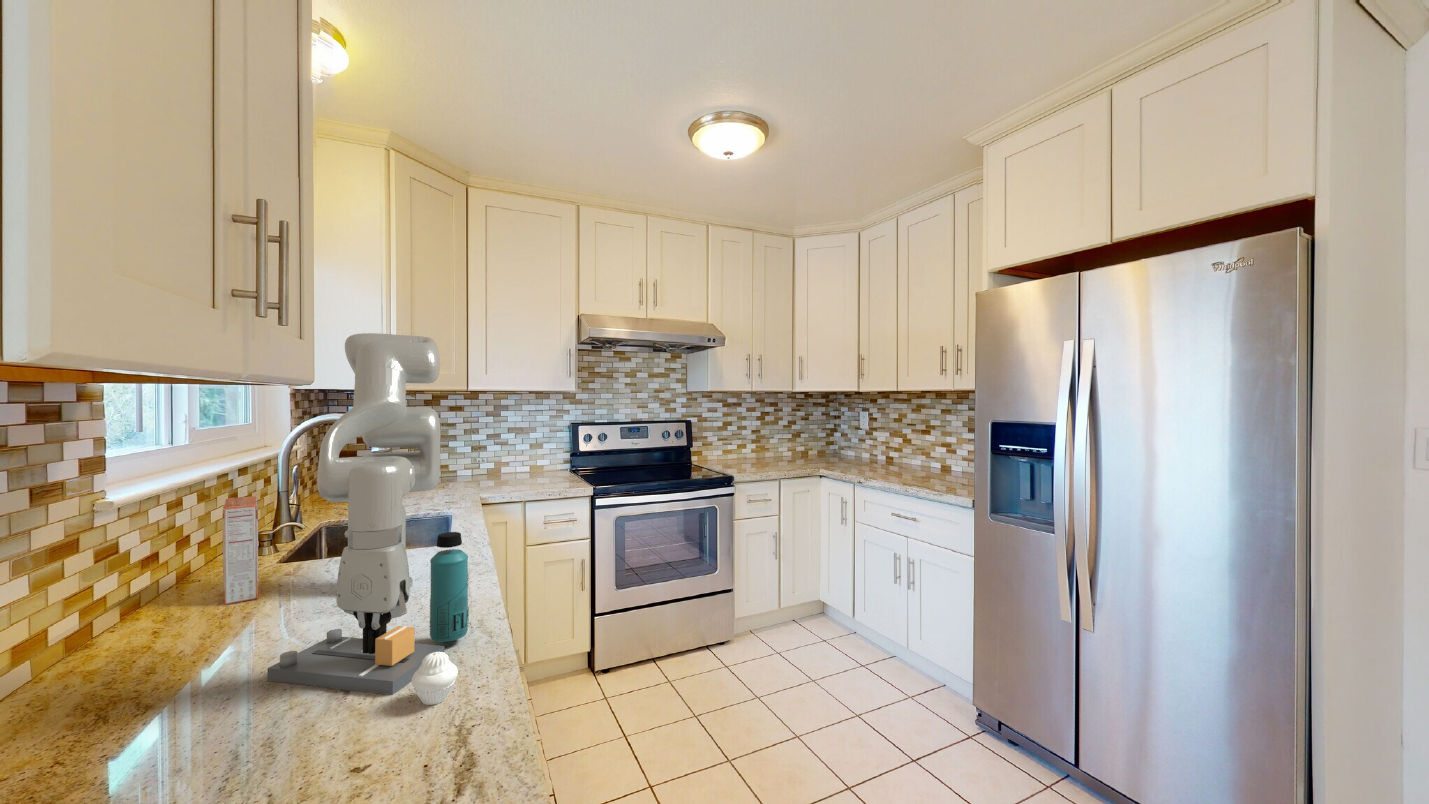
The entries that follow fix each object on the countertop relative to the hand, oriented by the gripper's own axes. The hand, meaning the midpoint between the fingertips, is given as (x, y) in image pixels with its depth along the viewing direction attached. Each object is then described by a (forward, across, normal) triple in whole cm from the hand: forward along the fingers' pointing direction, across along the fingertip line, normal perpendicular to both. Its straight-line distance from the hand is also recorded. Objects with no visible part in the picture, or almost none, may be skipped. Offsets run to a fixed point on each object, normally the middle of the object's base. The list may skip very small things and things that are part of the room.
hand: (374, 649), depth 90 cm
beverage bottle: (+4, +5, +11) cm, 13 cm away
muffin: (+4, +15, -6) cm, 17 cm away
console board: (+3, -3, 0) cm, 4 cm away
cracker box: (+4, -56, +25) cm, 61 cm away
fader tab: (+1, +4, 0) cm, 4 cm away
